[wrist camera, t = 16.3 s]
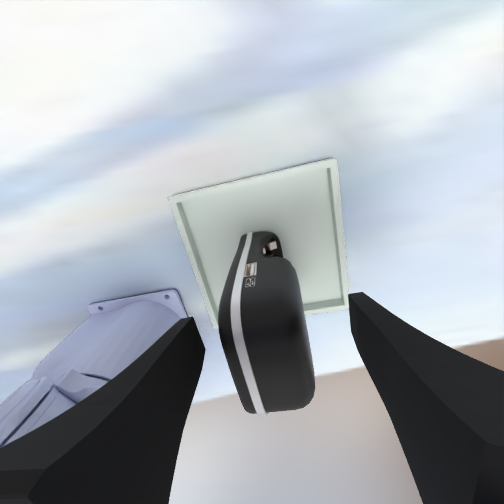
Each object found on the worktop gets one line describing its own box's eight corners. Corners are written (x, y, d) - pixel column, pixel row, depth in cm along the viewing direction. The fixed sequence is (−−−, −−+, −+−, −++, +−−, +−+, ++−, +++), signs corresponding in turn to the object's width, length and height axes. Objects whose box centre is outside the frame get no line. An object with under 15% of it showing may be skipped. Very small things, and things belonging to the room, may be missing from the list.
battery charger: (298, 295, 22) (327, 427, 11) (257, 301, 22) (248, 434, 12) (285, 221, 19) (307, 304, 9) (239, 231, 20) (208, 319, 9)
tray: (217, 319, 24) (214, 329, 23) (174, 194, 20) (167, 198, 18) (346, 299, 22) (351, 308, 21) (331, 157, 18) (336, 158, 17)
